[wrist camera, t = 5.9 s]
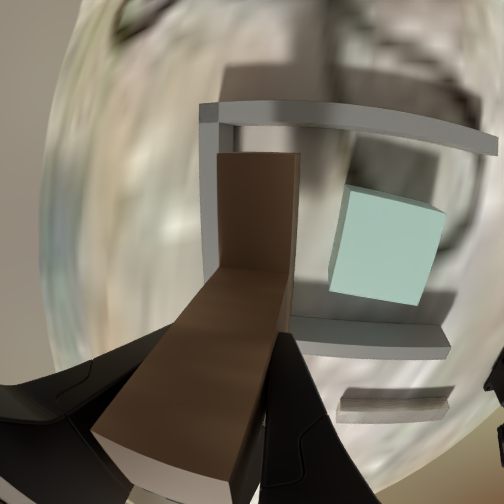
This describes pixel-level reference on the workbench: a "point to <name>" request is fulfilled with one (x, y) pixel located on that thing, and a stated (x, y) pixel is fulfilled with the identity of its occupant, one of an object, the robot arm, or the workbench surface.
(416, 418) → the steel bar
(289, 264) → the wooden l-shaped block
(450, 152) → the workbench surface
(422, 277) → the teal block
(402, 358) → the cubby
